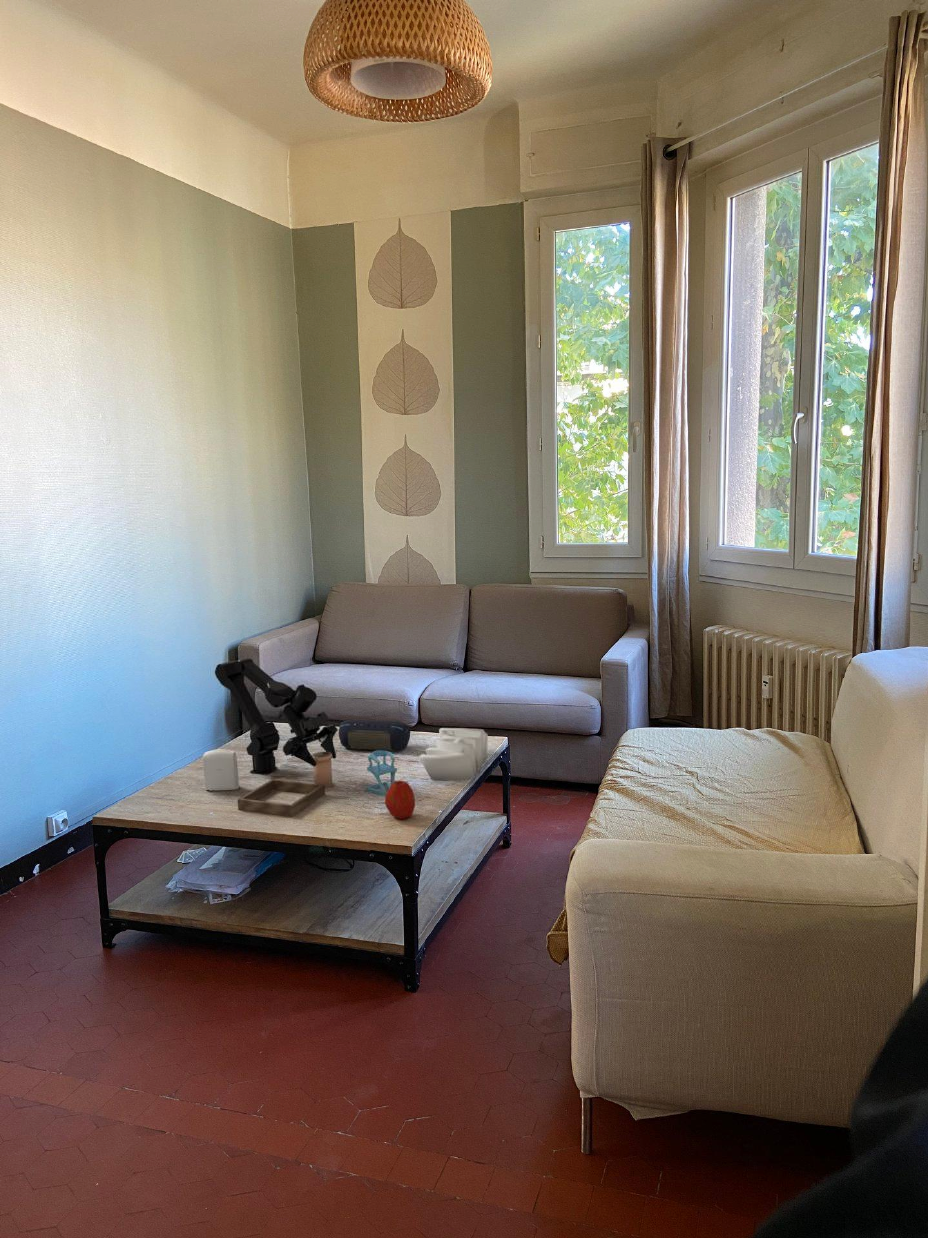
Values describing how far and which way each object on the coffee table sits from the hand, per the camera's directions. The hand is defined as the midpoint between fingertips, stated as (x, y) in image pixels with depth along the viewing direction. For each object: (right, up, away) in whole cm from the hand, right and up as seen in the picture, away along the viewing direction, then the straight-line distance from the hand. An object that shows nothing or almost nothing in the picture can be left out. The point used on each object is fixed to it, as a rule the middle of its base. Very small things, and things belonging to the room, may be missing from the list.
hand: (325, 761), depth 269 cm
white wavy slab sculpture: (+40, -5, +16) cm, 43 cm away
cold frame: (-11, -10, -10) cm, 18 cm away
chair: (+18, -8, -3) cm, 20 cm away
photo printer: (-32, -9, +2) cm, 33 cm away
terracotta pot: (-1, -8, +2) cm, 8 cm away
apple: (+24, -12, -24) cm, 36 cm away
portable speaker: (+11, -2, +38) cm, 40 cm away
